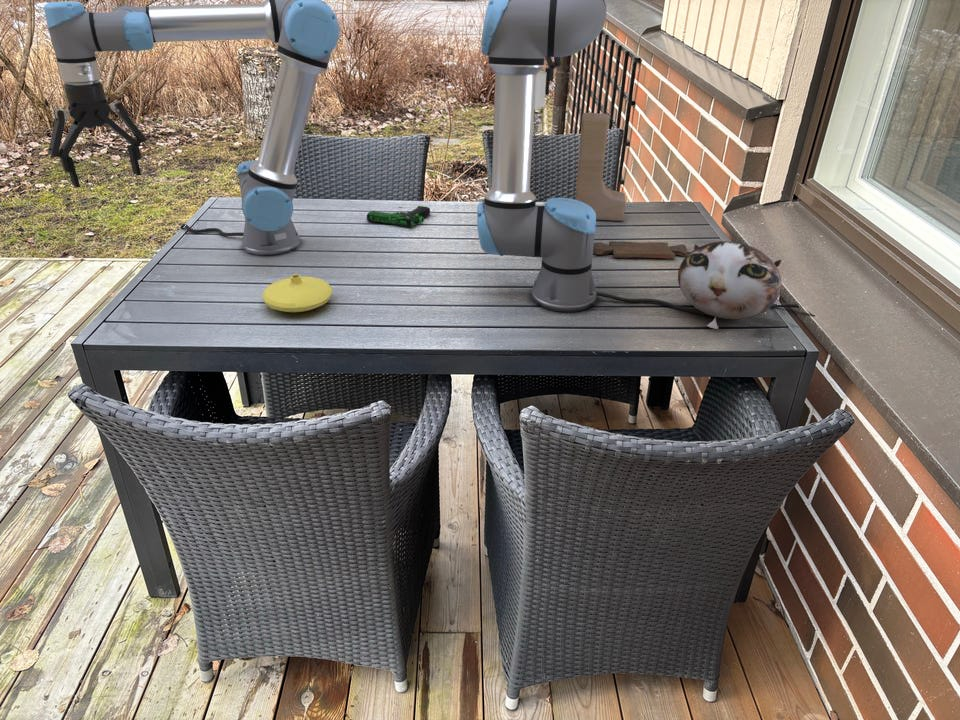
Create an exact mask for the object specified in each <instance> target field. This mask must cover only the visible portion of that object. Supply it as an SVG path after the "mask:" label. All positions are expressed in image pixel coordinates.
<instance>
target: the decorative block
mask: <svg viewBox="0 0 960 720" xmlns="http://www.w3.org/2000/svg"><path fill="white" fill-rule="evenodd" d="M608 130H609V114H607V113H603V112H602V113H598V112H583V113H582V115H581V126H580V137H579V138H580V139H579V149H578V151H579V152H578V161H577V162H578V163H577V172H576V173H577V174H576V186H575V197H574V200H577V201H580V202H583V203H585V204H587V205H589V206H590V207H591V208H592V209H593V210H594V211H595V214H596V221H597V220H598V221H612V222H615V221H616V222H623V221H624V220H625V219H624V218H625V210H626V194H625V192H622V191H618V190H614V189H610V188H609V187H608V186H606V183H605V181H604V169H605V160H606V159H605V158H606V151H607V150H606V149H607V139H608Z"/></svg>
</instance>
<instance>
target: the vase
mask: <svg viewBox="0 0 960 720" xmlns="http://www.w3.org/2000/svg"><path fill="white" fill-rule="evenodd" d="M332 295H333V287H332V286H331V285H330V284H329V283H328V282H327V281H326V280H324V279H322V278H318V277H314V276H301V274H298V273H295V274H291V275H290V277H287V278H282V279H279V280H276V281H274V282H272V283H270V284H269V285H268V286H267V287H266V288H265V289H264V290H263V292H262V294H261V296H262V300H263V302H264V303H265V304H266V306H267V307H268V308H270V309H273V310H276V311H279V312H286V313H303V312H308V311H311V310H314V309H316V308H319V307H322V306H324V305H325V304H327V303H328V302H329V301H330V300H331V297H332Z"/></svg>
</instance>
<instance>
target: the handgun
mask: <svg viewBox="0 0 960 720" xmlns="http://www.w3.org/2000/svg"><path fill="white" fill-rule="evenodd" d="M430 214H431V209H430V207H428V206H424V205H423V206H422V205H417V206H416V208H414V209H412V210H411V211H407V212H403V211H400V212H399V211H397V212H392V213H391V212H382V211H377V210H371V211H369V212H368V213H367V214H366V221H367V222H372V223H380V224H390V225H396V226H401V227H403V228H404V227H405V228H411V229H412V228H413V227H415V226H418V224H421V223H423V222H424V220H425V218H427V217H429V216H430Z"/></svg>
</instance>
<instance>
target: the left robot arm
mask: <svg viewBox="0 0 960 720" xmlns="http://www.w3.org/2000/svg"><path fill="white" fill-rule="evenodd" d="M43 10H44V15H45V16H44V17H45V20H46V25H47V27H46V28H47V30H48V34H49V37H50V41H51V43H52V48H53V51H54V54H55V58H56V59H55V60H56V62H57V66H58V70H59V74H60V77H61V81H62V82H64V85H63V89H64V93H65V95H66V96H65V97H66V99H67V104H68V109H59V108H54V110H53V115H54V122H53V126H52V127H53V128H52V132H51V136H50V142H49V145H48V150H47V152H48V154H49V155H51V156H52V157H54V158H55V157H56V158H59V159H60V163H61V167H62V170H63V171H64V172H65V173H68V174H69V178H70V181H71V185H72V186H73V187H75V188H81V184H80V180H79V176H78V173H77V170H76V166H75V162H74V159H73V157H72V156H70V153H71V151H72V149H73V147H74V146H75V144H76V143H77V140H78V138H79V136H80V134H81V133H82V132H83V131H84V129H85V128H86V129H92V128H95V127H96V128H97V127H98V128H101V127H104V125H106V126H107V127H109V128H110V129H112V130H113V131H114V132H115V133H116V134H117V135H119V136H120V137H121V138H123V139H124V140H125V141H126V142H127V143H129V144H126V148H127V153H128V157H129V161H130V165H131V168H132V173H133V174H134V175H136V176H142V172H141V169H140V164H139V160H142V155H141V150H140V149H141V148H140V147H141V144H142V143H146V142H147V138H146V137H145V135H144V134H143V133H142V131H141V130H140V129H139V128H138V126H137V125H136V123H135V122H134V121H133V119H131V117H130V116H129V114H128V113H127V112H126V109H125V106H124V104H123V103H122V102H120V101H118V100H114V101H113V102H112V103H108V101H107V97H106V93H105V89H104V84H103V83H102V82H101V79H102V77H101V72H100V69H99V65H98V60H97V56H96V52H97V53H102V52H136V53H137V52H140V51H141V52H143V51H150V50H153V48H154V46H155V43H174V42H175V43H177V42H203V41H204V42H205V41H235V40H237V41H238V40H240V41H241V40H266V39H267V40H269V41H270V42H272V44H276V43H277V46H276V51H275V52H276V54H277V55H278V57H279V59H280V66H279V70H278V74H277V78H276V82H275V87H274V91H273V95H272V99H271V103H270V107H269V112H268V116H267V121H266V125H265V128H264V133H263V137H262V141H261V146H260V150H259V154H258V159H256V160H247V161H243V162H241V163H239V164H238V165H237V168H236V169H237V174H236V176H237V177H238V183H239V190H240V198H241V211H242V214H243V216H244V219H245V220H244V226H243V228H244V229H243V232H239V231H237V232H224V231H223V230H222V229H220V228H217V227H208V228H201V229H195V228H192V227H190V226H189V225H188V224H186V223H183V224H181V225H180V227H179V228H180V229H181V230H183V229H186V230H187V231H189V232H190V233H193V234H202V233H208V232H217V233H219V234H220V235H221V236H223V237H241V246H242V249H243V251H244V252H246V253H248V254H252V255H255V256H256V255H257V256H275V255H281V254H282V255H283V254H285V253H289V252H291V251H293V250H296V249H297V248H298V247H299V246H300V244H301V241H300V235H299V233H298V231H297V229H296V227H295V225H294V223H293V220H292V216H293V214H294V204H293V201H294V196H295V192H296V189H297V185H298V178H297V177H296V175H295V172H294V170H295V168H296V164H297V159H298V155H299V151H300V148H301V144H302V140H303V136H304V133H305V128H306V125H307V120H308V116H309V112H310V109H311V105H312V101H313V97H314V93H315V89H316V85H317V82H318V78H319V75H320V74H322V73H324V72H326V71H327V70H328V66H329V63H330V58H331V55H332V52H333V51H334V49H335V48H336V46H337V44H338V43H339V42H338V41H339V40H340V39H339V38H340V25H339V21H338V18H337V16H336V13H335V12H334V10H333V9H332V7H330V6H329V4H327V3H326V2H325V1H323V0H264V1H263V2H259V3H221V4H220V3H219V4H184V5H183V4H182V5H181V4H180V5H178V4H177V5H149V6H145V5H140V6H133V5H129V4H124V5H119V6H117V7H115V8H114V9H112V11H107V12H105V11H104V12H91V11H87V10H86V9H85V6H84V4H83V3H82V2H80V1H71V0H68V1H67V0H65V1H49V2H47V3H46V4H45V5H44V6H43ZM112 111H113V112H114V113H115V114H117V115H118V117H119V118H120V119H121V121H122V122H123V123H124V124H125V126H126V127H127V128H128V130H129V131H130V132H131V134H132V135H133V136H132V135H130V134H129V133H128V132H127V131H126V130H125V129H123V128H122V127H121V126H120V125H118V124H117V123H116V122H115V121H114V120H112V118H110V117H109V116H110V114H111V112H112ZM69 116H70V117H71V118H72V119H73V121H72V123H71V127H70V129H69V131H68V133H67V134H66V136H65V139H64V140H63V142H62V139H63V135H64V130H65V127H66V126H65V125H66V121H67V120H68V118H69ZM185 225H186V226H185ZM184 226H185V227H184ZM183 227H184V228H183ZM182 228H183V229H182Z"/></svg>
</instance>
